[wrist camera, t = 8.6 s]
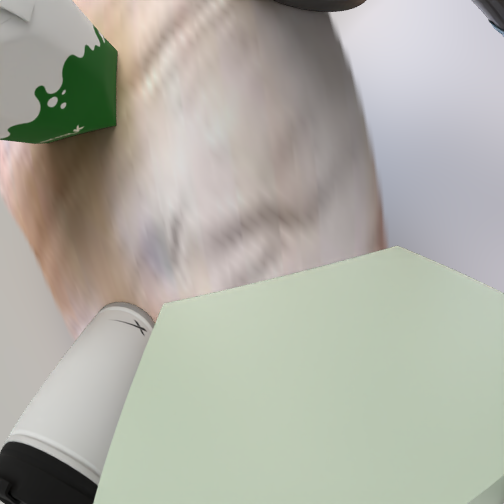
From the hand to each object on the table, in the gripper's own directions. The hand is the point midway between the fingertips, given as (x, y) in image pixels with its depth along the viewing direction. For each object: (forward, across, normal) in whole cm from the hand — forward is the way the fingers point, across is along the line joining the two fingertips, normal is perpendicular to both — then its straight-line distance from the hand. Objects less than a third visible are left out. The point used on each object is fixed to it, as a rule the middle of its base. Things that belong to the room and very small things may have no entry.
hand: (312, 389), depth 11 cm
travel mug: (+14, -13, -1) cm, 19 cm away
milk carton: (+14, -12, +20) cm, 27 cm away
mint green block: (+1, 0, 0) cm, 1 cm away
